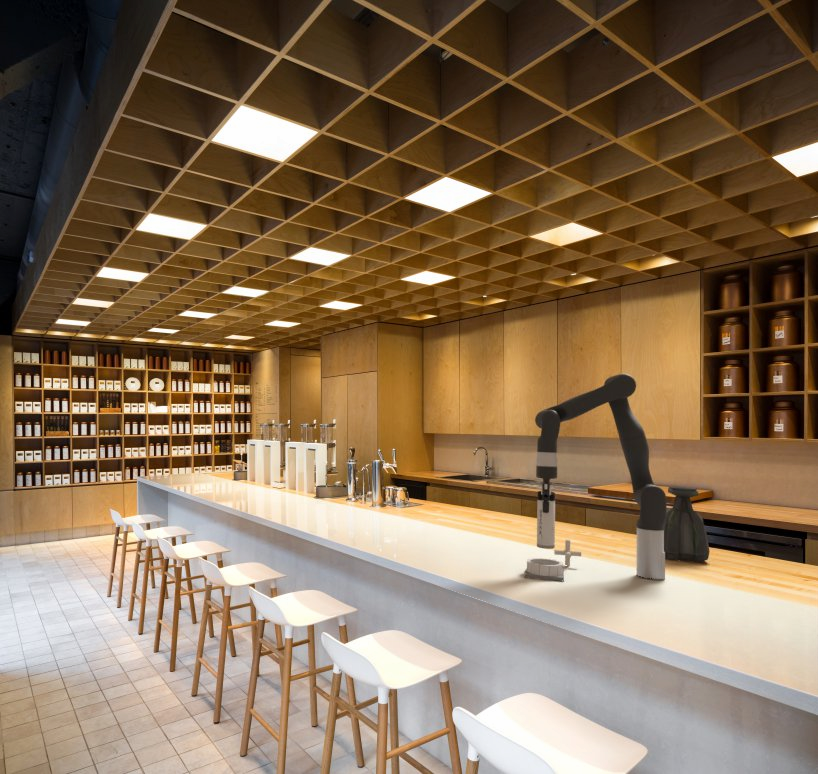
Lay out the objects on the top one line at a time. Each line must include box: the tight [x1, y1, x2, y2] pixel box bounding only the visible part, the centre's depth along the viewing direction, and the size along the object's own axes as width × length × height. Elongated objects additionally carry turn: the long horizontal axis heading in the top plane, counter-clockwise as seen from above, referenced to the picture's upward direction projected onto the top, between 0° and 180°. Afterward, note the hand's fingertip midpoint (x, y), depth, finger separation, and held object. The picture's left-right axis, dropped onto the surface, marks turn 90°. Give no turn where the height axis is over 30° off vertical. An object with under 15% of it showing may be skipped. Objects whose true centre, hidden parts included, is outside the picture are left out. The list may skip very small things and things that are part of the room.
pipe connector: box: [553, 539, 582, 567], centre depth 223 cm, size 10×10×10 cm
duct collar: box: [524, 557, 565, 582], centre depth 207 cm, size 13×13×5 cm
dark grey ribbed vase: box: [664, 486, 710, 563], centre depth 249 cm, size 18×16×30 cm
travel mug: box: [536, 490, 556, 550], centre depth 208 cm, size 6×7×20 cm
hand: (546, 511), depth 208 cm, fingers closed on travel mug, 6 cm apart
